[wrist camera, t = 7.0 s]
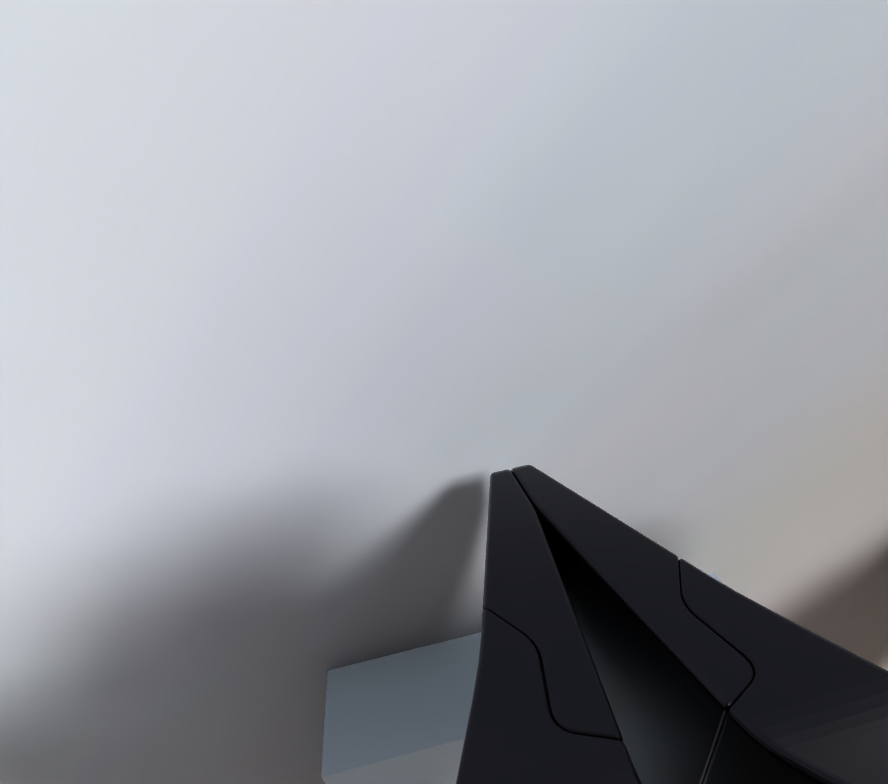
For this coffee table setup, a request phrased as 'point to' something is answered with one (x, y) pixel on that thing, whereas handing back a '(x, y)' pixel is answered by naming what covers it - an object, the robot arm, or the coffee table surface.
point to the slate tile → (401, 715)
